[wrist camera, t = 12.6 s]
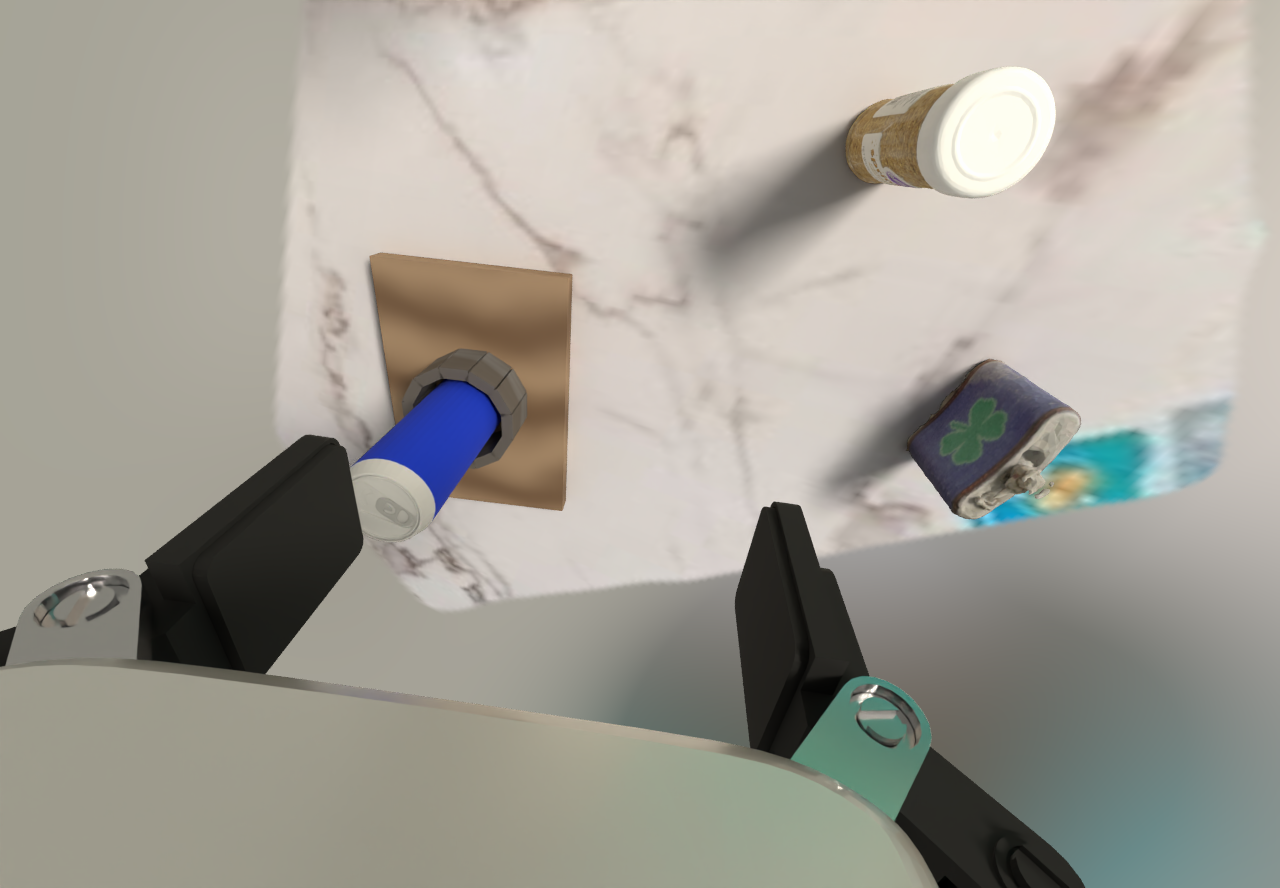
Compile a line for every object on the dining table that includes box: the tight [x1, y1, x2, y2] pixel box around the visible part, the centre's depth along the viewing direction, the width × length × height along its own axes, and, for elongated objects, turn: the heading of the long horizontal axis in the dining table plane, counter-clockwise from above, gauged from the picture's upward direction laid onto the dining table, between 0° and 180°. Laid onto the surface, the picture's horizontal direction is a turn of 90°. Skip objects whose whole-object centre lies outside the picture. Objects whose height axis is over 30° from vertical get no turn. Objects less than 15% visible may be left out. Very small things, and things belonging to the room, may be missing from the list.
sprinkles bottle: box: [846, 66, 1055, 198], centre depth 26 cm, size 5×5×13 cm
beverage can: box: [350, 379, 501, 543], centre depth 34 cm, size 5×5×15 cm
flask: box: [906, 359, 1081, 519], centre depth 36 cm, size 9×3×11 cm, turn 152°
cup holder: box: [370, 253, 572, 511], centre depth 40 cm, size 20×14×6 cm
